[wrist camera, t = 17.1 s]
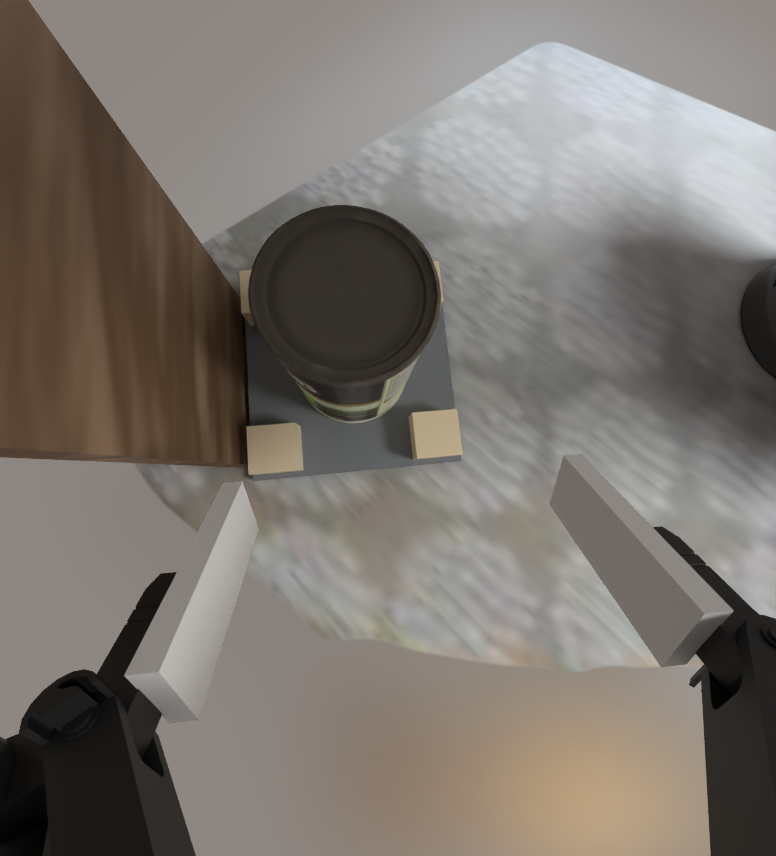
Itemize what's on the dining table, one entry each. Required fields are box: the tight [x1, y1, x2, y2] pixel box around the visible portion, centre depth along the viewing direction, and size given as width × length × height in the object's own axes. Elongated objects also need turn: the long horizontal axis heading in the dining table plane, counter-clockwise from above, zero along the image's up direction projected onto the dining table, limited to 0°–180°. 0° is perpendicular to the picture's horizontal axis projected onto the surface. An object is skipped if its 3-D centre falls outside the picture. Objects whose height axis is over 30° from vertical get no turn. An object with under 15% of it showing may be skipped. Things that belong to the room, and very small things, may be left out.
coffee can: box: [248, 205, 441, 423], centre depth 25 cm, size 10×10×14 cm
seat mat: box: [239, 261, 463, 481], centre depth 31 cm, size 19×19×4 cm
